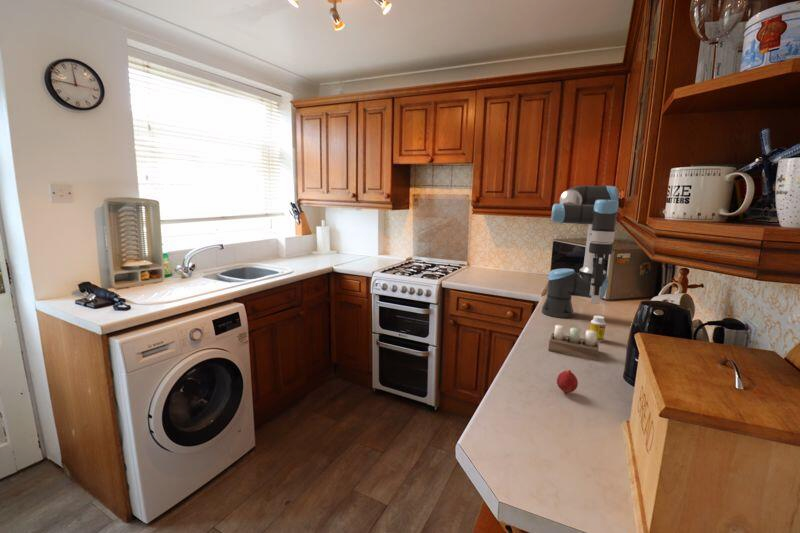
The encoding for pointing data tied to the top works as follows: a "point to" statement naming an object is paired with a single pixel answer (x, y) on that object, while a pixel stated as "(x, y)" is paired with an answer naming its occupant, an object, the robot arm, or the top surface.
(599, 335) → the supplement bottle
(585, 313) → the top surface
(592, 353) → the socket block
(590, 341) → the white egg
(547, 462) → the top surface
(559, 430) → the top surface
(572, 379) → the onion
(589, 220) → the robot arm
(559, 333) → the cream egg
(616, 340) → the top surface
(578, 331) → the pale green egg
